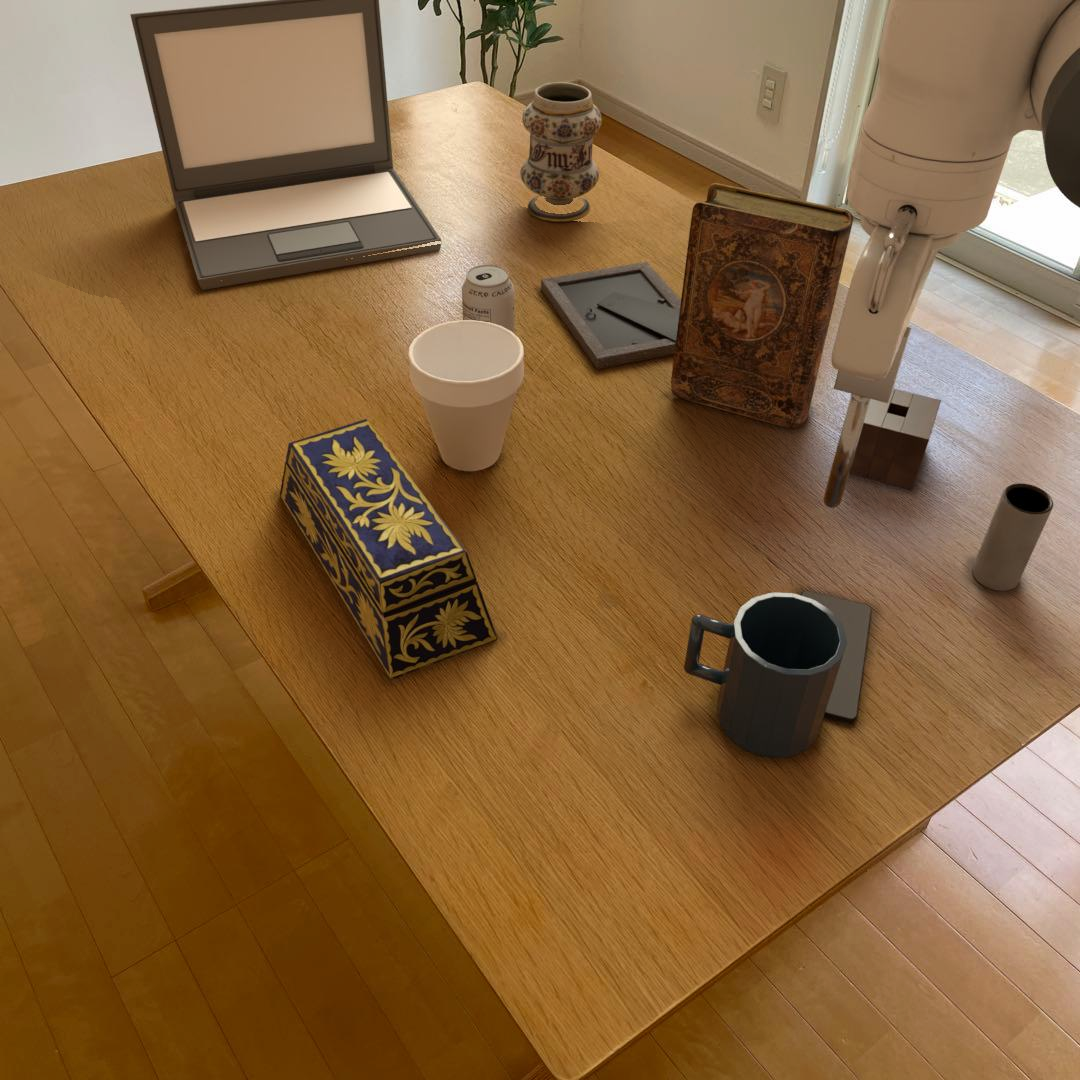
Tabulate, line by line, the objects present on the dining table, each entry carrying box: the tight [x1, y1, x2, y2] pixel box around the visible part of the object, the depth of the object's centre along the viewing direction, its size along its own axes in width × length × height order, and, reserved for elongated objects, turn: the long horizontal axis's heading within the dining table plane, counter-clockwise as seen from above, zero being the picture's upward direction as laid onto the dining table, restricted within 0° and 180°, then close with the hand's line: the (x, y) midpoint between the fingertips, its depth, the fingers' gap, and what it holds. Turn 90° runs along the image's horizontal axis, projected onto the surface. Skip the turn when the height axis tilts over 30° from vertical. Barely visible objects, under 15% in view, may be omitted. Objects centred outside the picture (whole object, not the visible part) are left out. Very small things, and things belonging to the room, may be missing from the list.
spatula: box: [822, 326, 912, 509], centre depth 79 cm, size 4×1×17 cm, turn 65°
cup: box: [407, 319, 525, 472], centre depth 115 cm, size 12×12×14 cm
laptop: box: [129, 0, 442, 291], centre depth 150 cm, size 35×28×28 cm
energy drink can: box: [461, 264, 515, 334], centre depth 125 cm, size 6×6×15 cm
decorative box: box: [279, 418, 499, 680], centre depth 103 cm, size 11×30×9 cm, turn 30°
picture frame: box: [540, 261, 681, 370], centre depth 141 cm, size 16×2×21 cm
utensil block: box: [849, 388, 942, 491], centre depth 117 cm, size 8×8×7 cm
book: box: [670, 182, 854, 430], centre depth 119 cm, size 16×6×25 cm, turn 65°
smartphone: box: [800, 590, 872, 725], centre depth 98 cm, size 7×1×15 cm
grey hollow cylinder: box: [971, 482, 1054, 592], centre depth 103 cm, size 4×4×10 cm
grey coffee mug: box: [683, 591, 847, 759], centre depth 90 cm, size 13×9×11 cm
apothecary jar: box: [519, 81, 603, 223], centre depth 159 cm, size 12×12×18 cm
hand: (871, 364), depth 76 cm, fingers closed on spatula, 1 cm apart
